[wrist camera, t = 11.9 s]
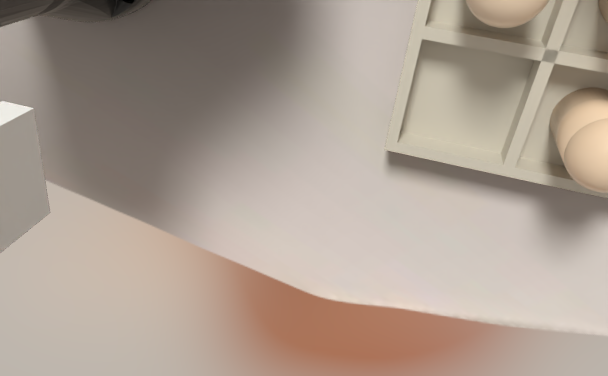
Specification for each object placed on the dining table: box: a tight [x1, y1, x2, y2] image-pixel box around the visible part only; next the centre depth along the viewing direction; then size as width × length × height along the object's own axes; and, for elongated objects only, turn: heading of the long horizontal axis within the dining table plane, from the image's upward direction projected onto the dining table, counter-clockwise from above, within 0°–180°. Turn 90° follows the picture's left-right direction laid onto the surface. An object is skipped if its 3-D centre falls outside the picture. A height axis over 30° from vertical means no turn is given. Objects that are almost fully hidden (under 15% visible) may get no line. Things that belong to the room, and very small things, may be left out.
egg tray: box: [384, 0, 608, 199], centre depth 34 cm, size 17×17×2 cm
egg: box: [550, 87, 608, 193], centre depth 33 cm, size 5×5×8 cm
